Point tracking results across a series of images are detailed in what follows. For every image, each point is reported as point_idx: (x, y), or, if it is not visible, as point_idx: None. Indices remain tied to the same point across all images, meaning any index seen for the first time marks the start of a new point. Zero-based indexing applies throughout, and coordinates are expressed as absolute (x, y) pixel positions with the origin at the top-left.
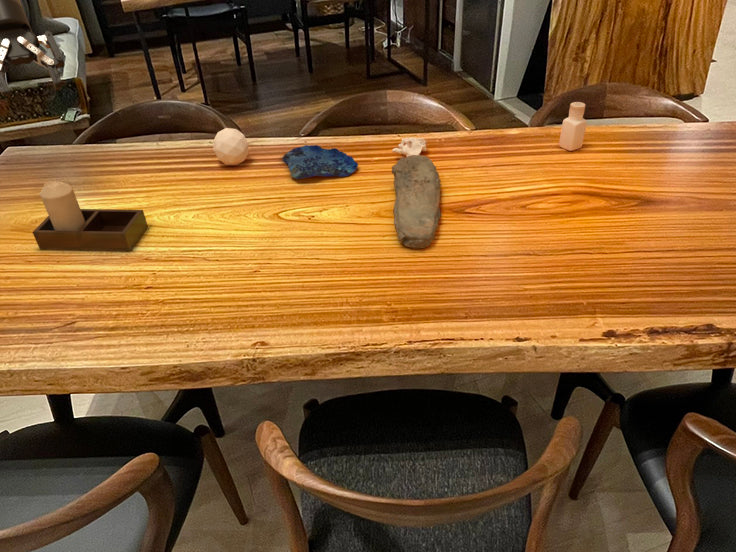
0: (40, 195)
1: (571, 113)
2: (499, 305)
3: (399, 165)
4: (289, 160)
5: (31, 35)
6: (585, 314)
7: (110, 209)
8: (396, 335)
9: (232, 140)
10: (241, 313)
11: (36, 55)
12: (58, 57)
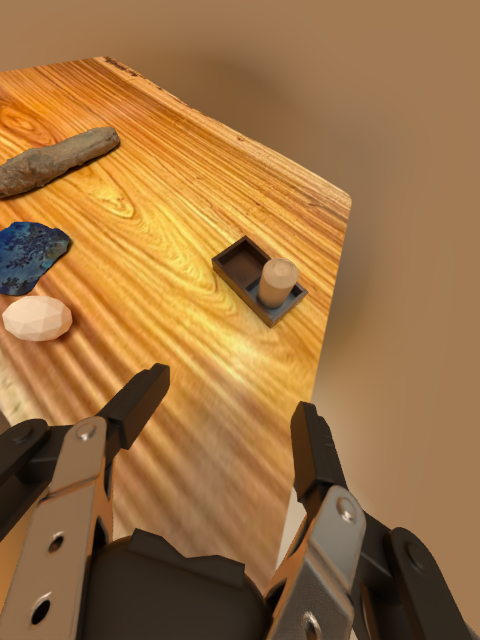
0: (298, 274)
1: None
2: (142, 100)
3: (19, 162)
4: (30, 278)
5: None
6: (126, 82)
7: (232, 280)
8: (191, 112)
9: (36, 297)
10: (231, 158)
11: (95, 505)
12: (29, 431)
